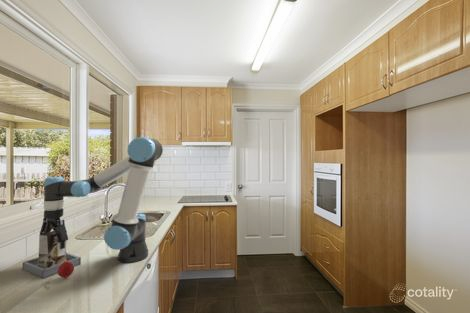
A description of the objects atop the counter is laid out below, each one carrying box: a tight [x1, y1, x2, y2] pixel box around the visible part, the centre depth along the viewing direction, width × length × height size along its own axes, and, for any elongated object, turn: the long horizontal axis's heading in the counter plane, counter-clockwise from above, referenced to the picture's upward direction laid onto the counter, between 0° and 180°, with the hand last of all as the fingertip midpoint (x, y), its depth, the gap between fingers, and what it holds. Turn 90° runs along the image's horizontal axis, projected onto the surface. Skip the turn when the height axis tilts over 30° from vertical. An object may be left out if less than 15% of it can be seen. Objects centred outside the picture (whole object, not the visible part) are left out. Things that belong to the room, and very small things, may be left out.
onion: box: [57, 260, 75, 279], centre depth 104 cm, size 6×6×8 cm
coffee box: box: [37, 230, 68, 269], centre depth 114 cm, size 9×6×16 cm
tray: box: [22, 252, 82, 280], centre depth 114 cm, size 18×16×4 cm
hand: (53, 252), depth 114 cm, fingers open, 13 cm apart
